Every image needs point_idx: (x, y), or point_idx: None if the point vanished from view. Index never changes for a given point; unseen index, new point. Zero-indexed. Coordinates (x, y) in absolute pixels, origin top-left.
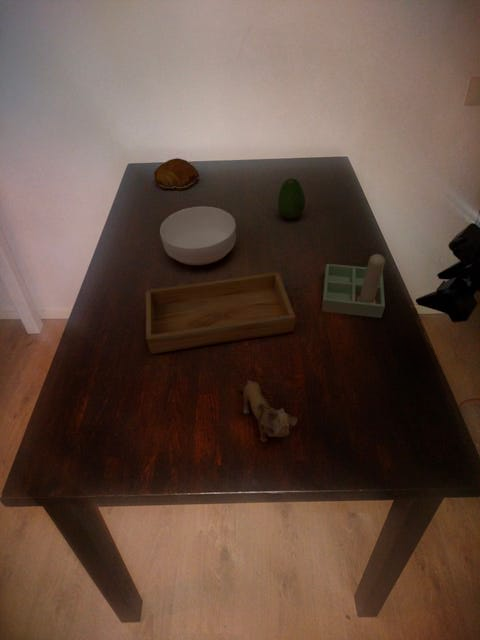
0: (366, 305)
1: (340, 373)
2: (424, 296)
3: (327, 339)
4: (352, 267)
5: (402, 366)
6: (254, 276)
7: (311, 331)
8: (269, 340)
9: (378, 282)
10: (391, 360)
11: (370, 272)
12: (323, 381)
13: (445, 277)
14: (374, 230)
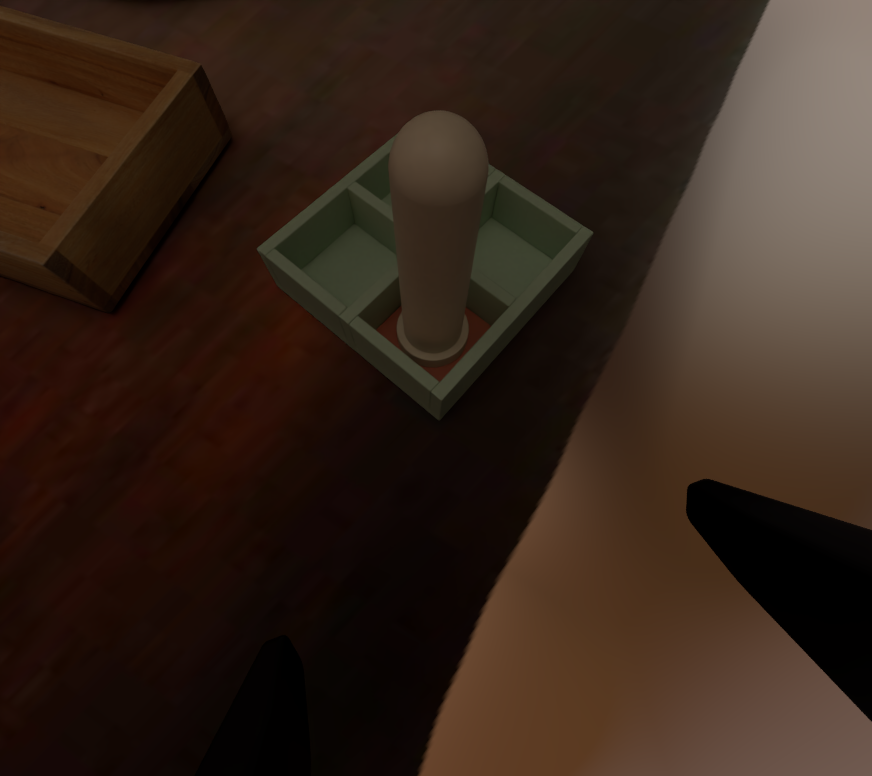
0: (383, 354)
1: (88, 560)
2: (216, 768)
3: (188, 399)
4: (490, 174)
5: (315, 674)
6: (109, 43)
7: (173, 340)
8: (26, 301)
9: (442, 289)
10: (303, 620)
11: (393, 218)
12: (5, 556)
13: (731, 556)
14: (728, 87)
